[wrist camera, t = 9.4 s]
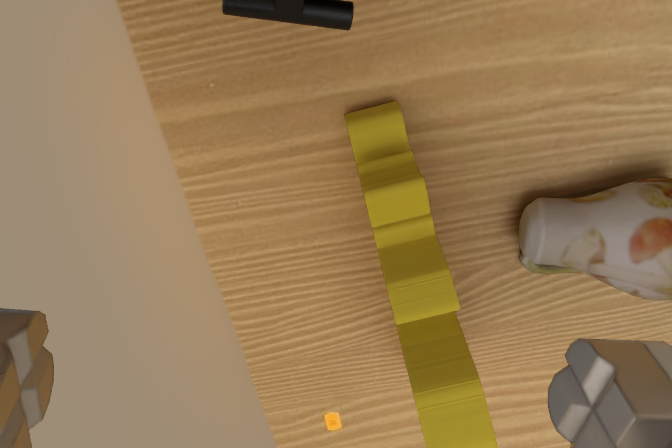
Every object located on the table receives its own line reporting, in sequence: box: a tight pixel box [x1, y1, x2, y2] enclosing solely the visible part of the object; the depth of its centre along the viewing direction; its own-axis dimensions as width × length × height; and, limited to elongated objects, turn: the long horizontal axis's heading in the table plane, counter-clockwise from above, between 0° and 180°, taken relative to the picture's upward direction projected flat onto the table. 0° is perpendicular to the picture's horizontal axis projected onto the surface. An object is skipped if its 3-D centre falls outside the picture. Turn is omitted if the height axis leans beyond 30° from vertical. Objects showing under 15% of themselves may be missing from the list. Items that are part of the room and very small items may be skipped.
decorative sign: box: [344, 101, 498, 448], centre depth 31 cm, size 20×3×15 cm, turn 14°
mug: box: [519, 178, 672, 301], centre depth 34 cm, size 8×10×10 cm
